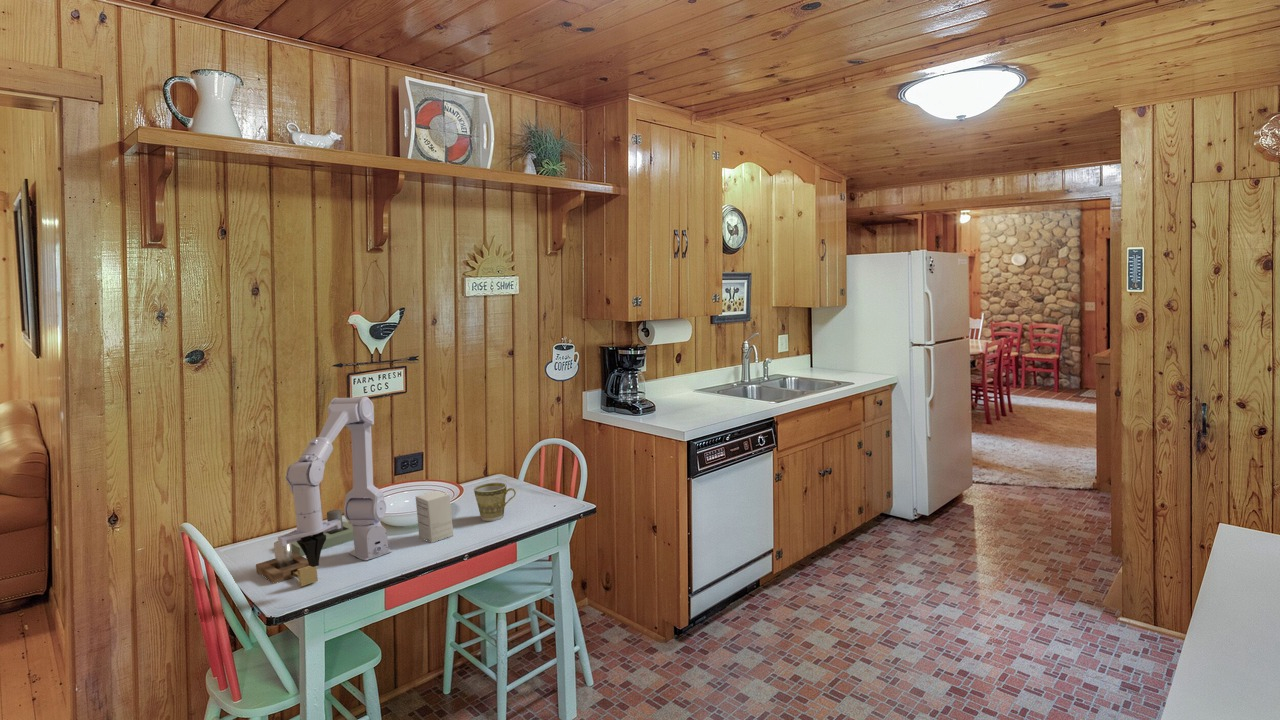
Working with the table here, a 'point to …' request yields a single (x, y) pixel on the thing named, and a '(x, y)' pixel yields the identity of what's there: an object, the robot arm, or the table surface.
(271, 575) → the socket holder
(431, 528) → the supplement box
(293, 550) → the tool rack
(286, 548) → the steel peg
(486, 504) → the ceramic cup
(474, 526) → the table surface
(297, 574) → the tan block with bar
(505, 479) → the table surface
